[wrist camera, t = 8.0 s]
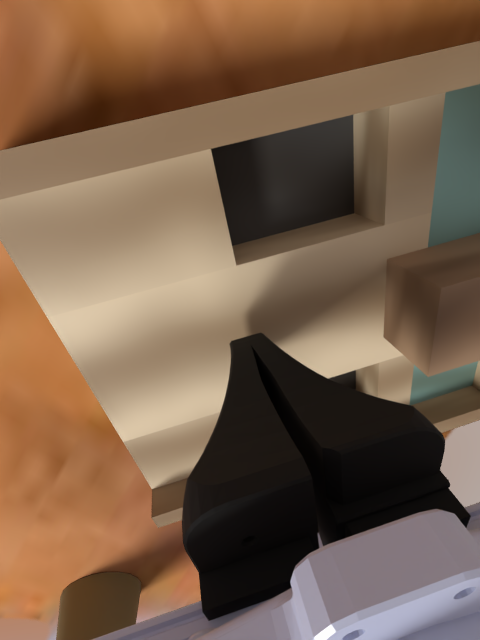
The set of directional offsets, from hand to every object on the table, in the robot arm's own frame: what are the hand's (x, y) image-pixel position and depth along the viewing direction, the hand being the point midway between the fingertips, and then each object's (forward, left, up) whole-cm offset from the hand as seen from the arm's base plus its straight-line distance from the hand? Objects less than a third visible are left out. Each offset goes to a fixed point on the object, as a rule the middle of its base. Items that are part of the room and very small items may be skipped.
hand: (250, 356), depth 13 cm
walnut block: (0, -9, -1) cm, 9 cm away
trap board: (0, -3, -3) cm, 5 cm away
